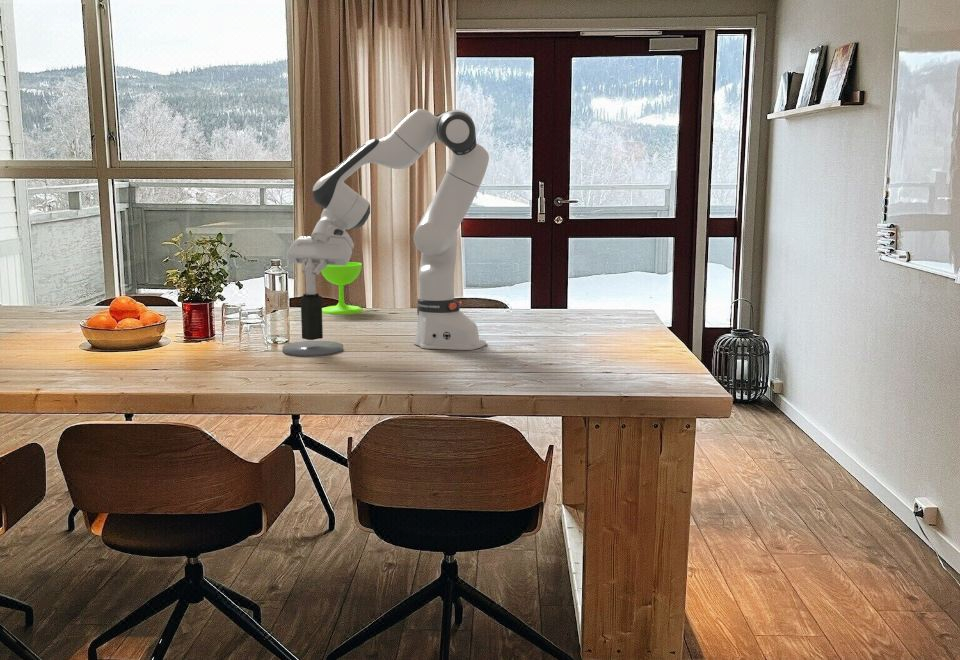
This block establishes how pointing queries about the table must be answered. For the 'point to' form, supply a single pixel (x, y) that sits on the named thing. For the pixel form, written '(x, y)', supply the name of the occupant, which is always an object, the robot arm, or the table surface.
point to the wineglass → (342, 285)
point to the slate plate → (312, 348)
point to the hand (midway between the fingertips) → (309, 273)
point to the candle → (311, 307)
